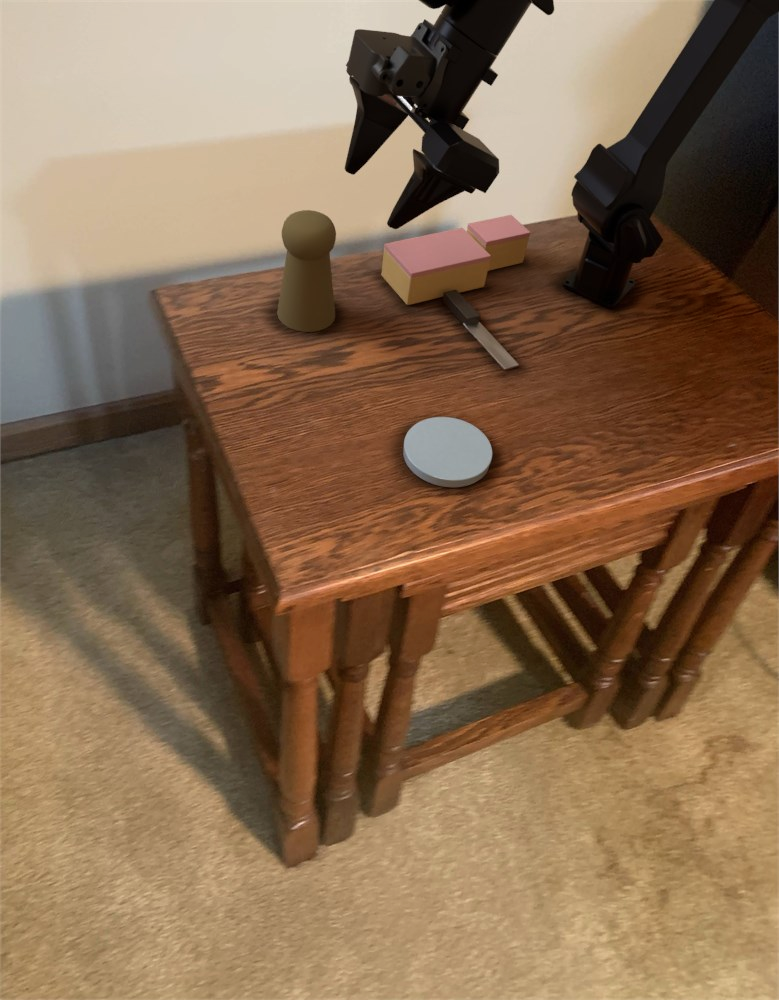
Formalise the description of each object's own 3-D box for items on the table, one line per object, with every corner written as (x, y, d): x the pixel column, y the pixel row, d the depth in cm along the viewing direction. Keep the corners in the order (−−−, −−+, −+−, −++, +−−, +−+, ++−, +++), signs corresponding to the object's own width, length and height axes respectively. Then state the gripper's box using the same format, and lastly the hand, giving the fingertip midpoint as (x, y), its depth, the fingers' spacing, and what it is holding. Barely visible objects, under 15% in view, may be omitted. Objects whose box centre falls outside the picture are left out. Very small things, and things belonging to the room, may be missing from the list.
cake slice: (462, 254, 98) (467, 223, 95) (504, 244, 100) (511, 214, 97) (480, 273, 96) (486, 241, 93) (523, 262, 98) (530, 232, 95)
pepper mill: (269, 301, 88) (268, 205, 80) (323, 293, 90) (328, 198, 82) (288, 336, 85) (289, 239, 76) (343, 326, 87) (350, 230, 78)
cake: (380, 275, 93) (384, 243, 90) (456, 258, 97) (462, 227, 94) (407, 305, 90) (411, 273, 87) (484, 286, 94) (491, 255, 91)
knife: (455, 298, 92) (456, 288, 91) (518, 367, 85) (521, 357, 84) (441, 301, 91) (442, 292, 90) (504, 371, 84) (506, 361, 84)
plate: (434, 412, 79) (435, 404, 79) (506, 452, 77) (508, 444, 76) (385, 458, 75) (386, 450, 74) (460, 502, 72) (462, 494, 71)
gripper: (348, -59, 68) (260, 115, 76) (457, 43, 58) (343, 231, 66) (441, 5, 76) (352, 157, 84) (552, 105, 66) (439, 267, 74)
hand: (369, 198), depth 77 cm, fingers open, 9 cm apart
